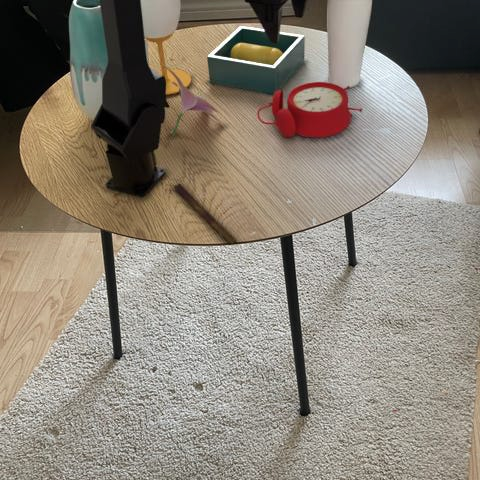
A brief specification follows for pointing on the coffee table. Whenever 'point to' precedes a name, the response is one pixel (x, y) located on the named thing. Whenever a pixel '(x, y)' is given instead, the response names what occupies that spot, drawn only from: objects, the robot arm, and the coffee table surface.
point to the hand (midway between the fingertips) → (287, 29)
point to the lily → (192, 101)
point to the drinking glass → (346, 39)
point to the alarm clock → (312, 110)
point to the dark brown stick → (205, 214)
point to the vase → (87, 55)
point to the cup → (163, 35)
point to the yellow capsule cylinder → (255, 53)
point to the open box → (256, 73)
